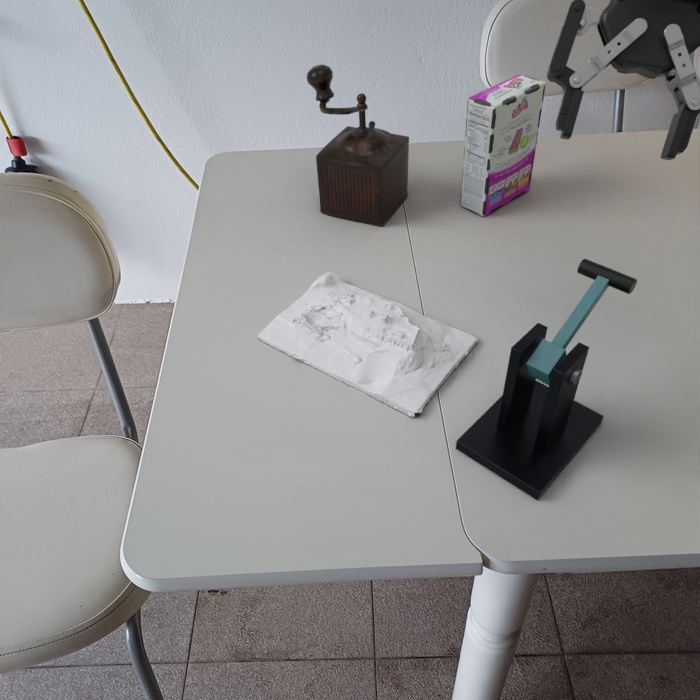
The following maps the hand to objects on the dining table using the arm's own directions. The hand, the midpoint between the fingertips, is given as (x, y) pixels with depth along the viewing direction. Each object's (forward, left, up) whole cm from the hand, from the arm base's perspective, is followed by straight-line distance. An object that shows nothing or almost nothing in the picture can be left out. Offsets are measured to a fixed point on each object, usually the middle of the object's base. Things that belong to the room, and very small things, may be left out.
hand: (616, 148), depth 55 cm
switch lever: (+5, +6, -14) cm, 16 cm away
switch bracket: (+9, +8, -24) cm, 27 cm away
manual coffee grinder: (+10, -42, -25) cm, 49 cm away
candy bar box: (-10, -34, -25) cm, 43 cm away
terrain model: (+19, -11, -25) cm, 33 cm away
